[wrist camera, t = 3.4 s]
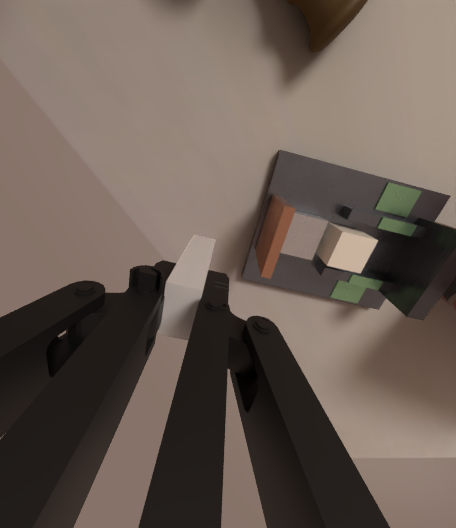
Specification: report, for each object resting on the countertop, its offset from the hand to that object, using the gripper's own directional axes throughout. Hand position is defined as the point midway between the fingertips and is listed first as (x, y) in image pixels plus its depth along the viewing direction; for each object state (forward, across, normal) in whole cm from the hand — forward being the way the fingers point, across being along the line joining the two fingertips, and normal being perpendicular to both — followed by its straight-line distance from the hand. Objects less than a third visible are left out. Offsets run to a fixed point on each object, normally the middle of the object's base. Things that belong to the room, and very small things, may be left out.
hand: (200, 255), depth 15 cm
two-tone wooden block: (+13, +9, 0) cm, 16 cm away
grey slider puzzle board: (+14, +15, 0) cm, 21 cm away
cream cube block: (+13, +15, 0) cm, 20 cm away
